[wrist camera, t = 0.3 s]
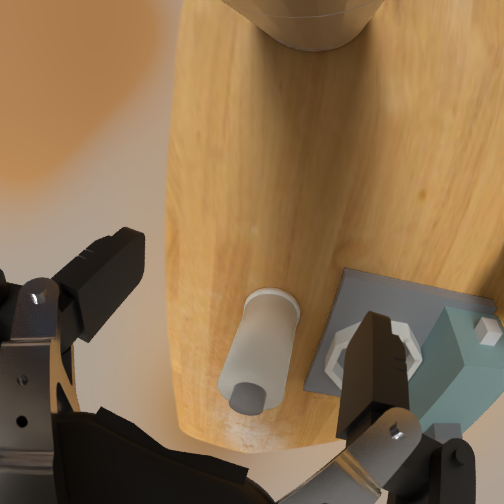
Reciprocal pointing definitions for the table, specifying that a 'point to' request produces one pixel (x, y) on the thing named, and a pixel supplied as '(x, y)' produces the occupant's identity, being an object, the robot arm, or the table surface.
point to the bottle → (260, 352)
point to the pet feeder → (421, 348)
